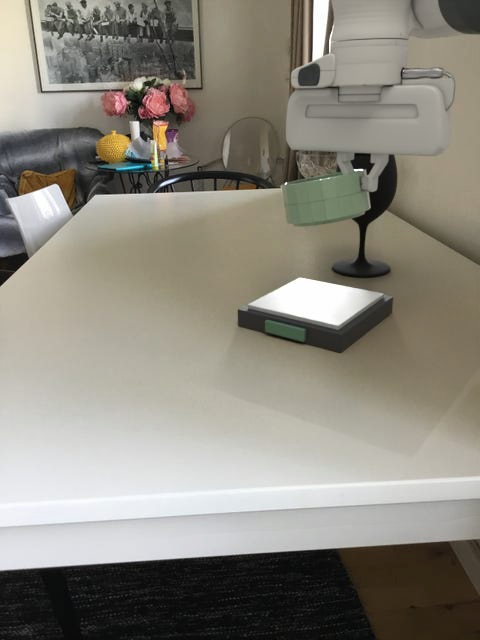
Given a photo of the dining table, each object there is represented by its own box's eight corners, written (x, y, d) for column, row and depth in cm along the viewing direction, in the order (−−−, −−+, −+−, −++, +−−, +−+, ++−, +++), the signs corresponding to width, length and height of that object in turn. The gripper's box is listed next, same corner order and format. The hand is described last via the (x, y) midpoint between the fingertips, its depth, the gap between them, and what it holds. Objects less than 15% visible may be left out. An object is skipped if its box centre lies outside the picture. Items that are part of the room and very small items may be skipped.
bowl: (384, 207, 76) (379, 165, 74) (346, 223, 68) (340, 176, 66) (313, 215, 82) (307, 177, 81) (271, 230, 74) (264, 188, 73)
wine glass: (360, 281, 95) (367, 159, 87) (319, 267, 103) (322, 154, 96) (403, 270, 100) (412, 153, 93) (361, 257, 108) (367, 149, 101)
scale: (392, 312, 82) (393, 292, 81) (338, 355, 70) (339, 331, 69) (297, 293, 91) (297, 274, 90) (235, 327, 79) (234, 306, 78)
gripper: (466, 66, 62) (452, 193, 68) (305, 73, 74) (303, 181, 79) (448, 65, 58) (434, 201, 63) (279, 72, 69) (279, 187, 74)
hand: (360, 190), depth 71 cm, fingers closed on bowl
